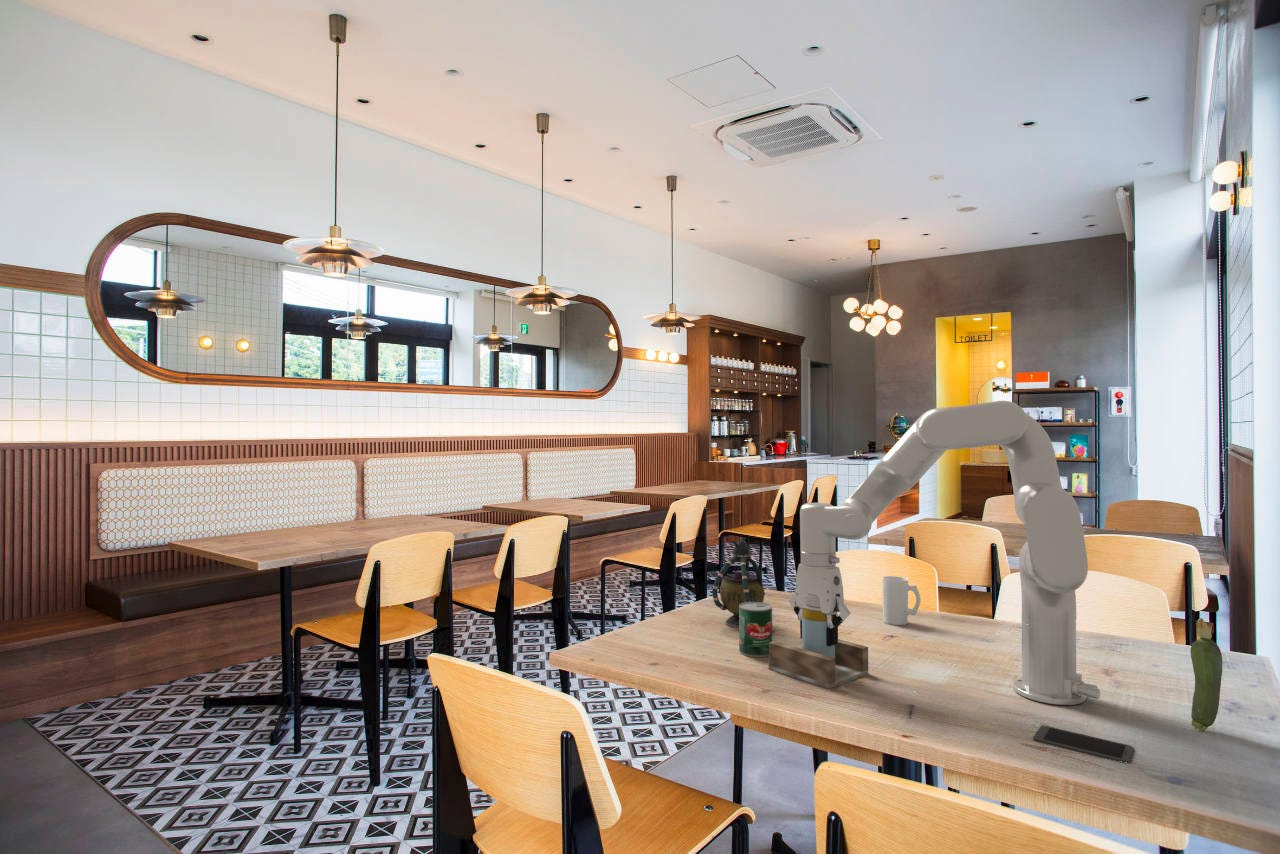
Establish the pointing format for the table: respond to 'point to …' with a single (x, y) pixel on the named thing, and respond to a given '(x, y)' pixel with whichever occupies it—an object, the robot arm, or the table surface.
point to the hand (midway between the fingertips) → (818, 640)
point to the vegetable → (1205, 678)
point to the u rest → (820, 663)
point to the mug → (897, 600)
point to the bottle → (815, 628)
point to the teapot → (738, 584)
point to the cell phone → (1084, 744)
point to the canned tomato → (755, 628)
